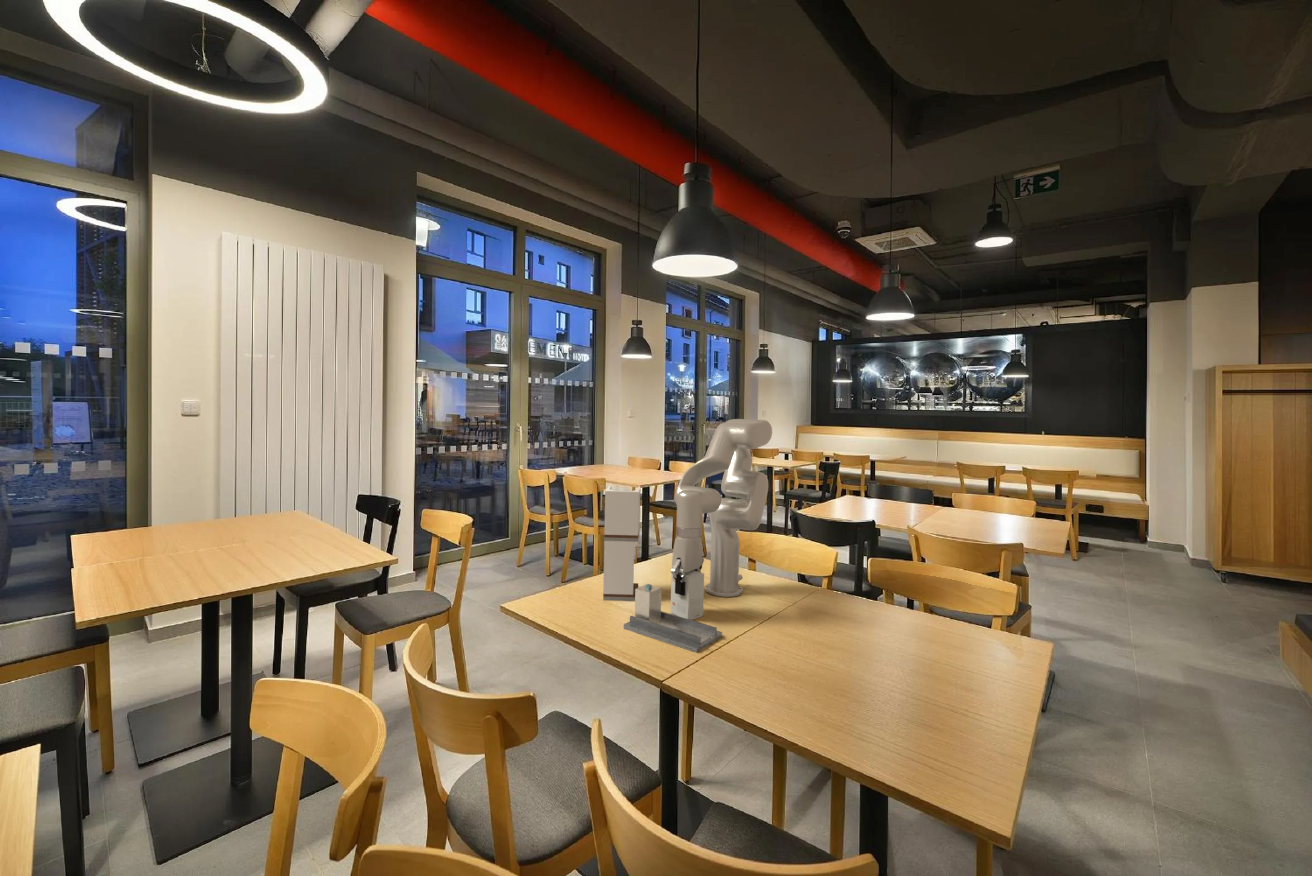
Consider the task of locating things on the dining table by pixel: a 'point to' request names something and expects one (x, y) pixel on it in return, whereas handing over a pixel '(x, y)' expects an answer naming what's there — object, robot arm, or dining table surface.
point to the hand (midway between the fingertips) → (687, 590)
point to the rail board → (668, 623)
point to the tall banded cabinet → (620, 543)
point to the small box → (689, 596)
